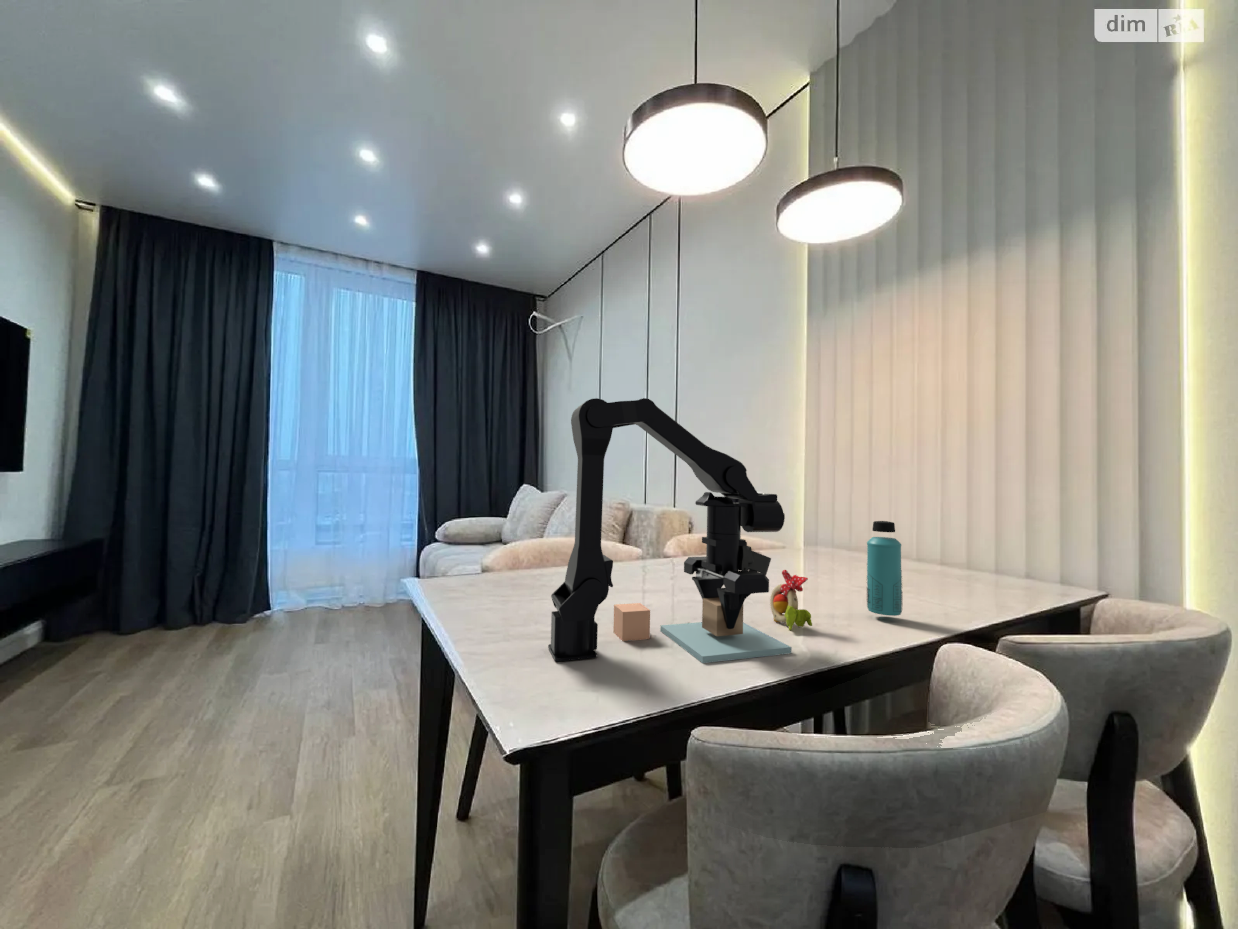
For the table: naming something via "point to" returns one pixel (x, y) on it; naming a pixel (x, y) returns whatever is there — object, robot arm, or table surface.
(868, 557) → the beverage bottle
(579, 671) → the table surface
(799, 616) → the bird rattle
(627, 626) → the terracotta cube
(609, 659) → the table surface
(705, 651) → the board
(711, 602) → the walnut cube
